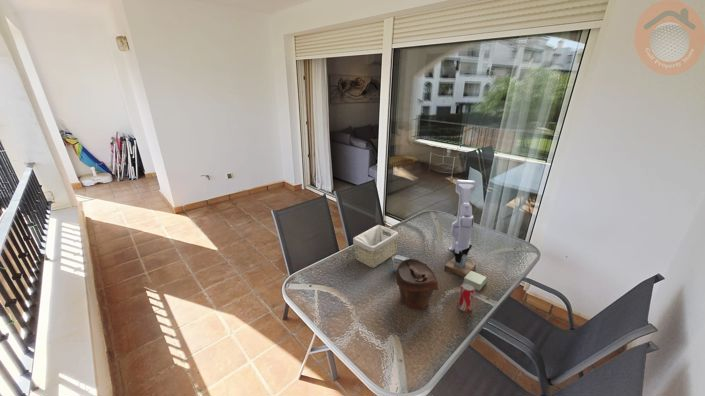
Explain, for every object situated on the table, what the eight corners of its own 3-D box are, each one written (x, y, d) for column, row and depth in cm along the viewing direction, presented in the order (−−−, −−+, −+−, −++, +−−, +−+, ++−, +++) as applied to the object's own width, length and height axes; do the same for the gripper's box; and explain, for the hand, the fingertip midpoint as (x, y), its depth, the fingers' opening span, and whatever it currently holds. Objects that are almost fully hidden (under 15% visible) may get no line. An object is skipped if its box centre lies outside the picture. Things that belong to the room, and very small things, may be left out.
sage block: (469, 276, 148) (470, 270, 146) (485, 283, 142) (486, 277, 141) (463, 284, 142) (464, 277, 141) (479, 291, 137) (480, 284, 136)
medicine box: (393, 271, 153) (393, 258, 150) (395, 267, 157) (396, 254, 153) (407, 275, 149) (407, 261, 146) (409, 271, 153) (410, 257, 150)
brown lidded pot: (430, 321, 120) (433, 286, 113) (387, 304, 130) (388, 271, 124) (441, 297, 134) (445, 265, 128) (402, 283, 144) (404, 253, 138)
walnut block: (454, 260, 162) (455, 256, 161) (475, 269, 154) (475, 264, 153) (444, 269, 154) (444, 265, 153) (465, 279, 146) (466, 274, 145)
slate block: (457, 261, 156) (458, 251, 154) (465, 264, 153) (466, 255, 151) (453, 264, 154) (455, 255, 151) (461, 268, 150) (463, 258, 148)
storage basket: (372, 270, 154) (372, 247, 149) (352, 259, 165) (351, 237, 160) (398, 253, 170) (399, 231, 165) (378, 244, 181) (378, 223, 175)
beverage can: (465, 315, 123) (468, 293, 118) (454, 306, 128) (457, 284, 123) (475, 310, 125) (478, 288, 121) (464, 301, 130) (467, 280, 126)
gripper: (462, 230, 154) (460, 251, 159) (450, 239, 145) (447, 262, 150) (475, 234, 150) (472, 256, 155) (463, 244, 140) (460, 267, 145)
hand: (461, 259), depth 152 cm, fingers open, 7 cm apart
